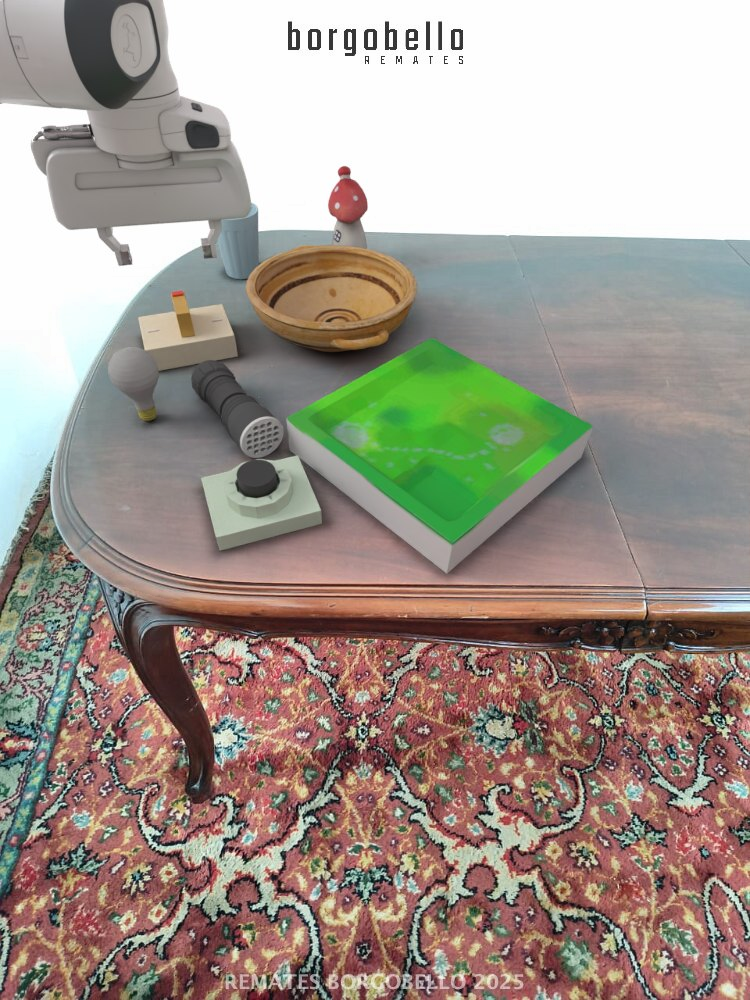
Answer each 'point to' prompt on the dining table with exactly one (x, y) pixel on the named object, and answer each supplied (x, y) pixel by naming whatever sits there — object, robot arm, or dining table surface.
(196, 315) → the plate
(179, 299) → the lock knob
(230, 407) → the flashlight
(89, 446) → the dining table surface
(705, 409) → the dining table surface
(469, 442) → the tray
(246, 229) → the cup
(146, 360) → the light bulb
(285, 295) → the ceramic bowl
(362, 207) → the decorative ornament
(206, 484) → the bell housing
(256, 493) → the bell button
